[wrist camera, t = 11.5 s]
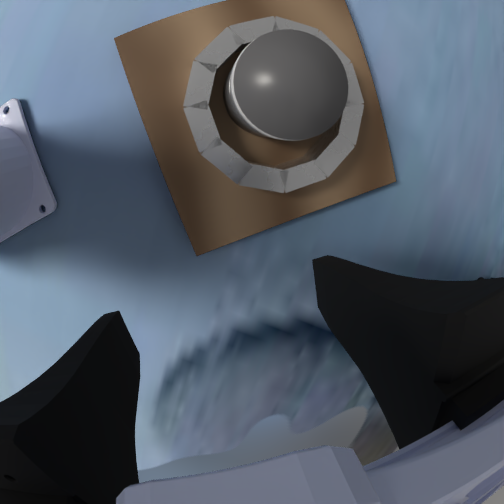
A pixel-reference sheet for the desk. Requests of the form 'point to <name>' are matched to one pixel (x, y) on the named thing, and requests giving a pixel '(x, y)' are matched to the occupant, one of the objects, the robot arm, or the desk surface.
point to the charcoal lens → (286, 86)
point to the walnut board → (243, 143)
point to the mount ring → (252, 173)
